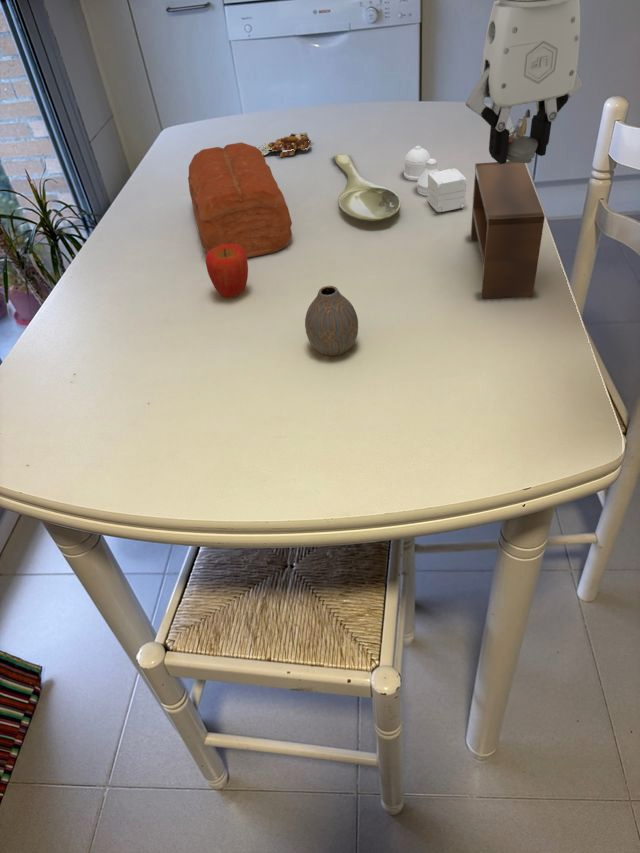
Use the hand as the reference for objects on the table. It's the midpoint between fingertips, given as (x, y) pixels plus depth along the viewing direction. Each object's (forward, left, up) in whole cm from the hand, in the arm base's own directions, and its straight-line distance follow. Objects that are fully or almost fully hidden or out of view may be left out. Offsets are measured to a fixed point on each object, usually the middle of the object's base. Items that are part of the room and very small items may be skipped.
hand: (517, 154), depth 81 cm
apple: (+38, -13, -19) cm, 45 cm away
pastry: (+19, -66, -19) cm, 71 cm away
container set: (-2, -34, -19) cm, 39 cm away
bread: (+33, -36, -19) cm, 53 cm away
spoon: (+10, -40, -19) cm, 45 cm away
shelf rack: (-2, -5, -18) cm, 19 cm away
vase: (+27, +6, -19) cm, 33 cm away
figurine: (0, 0, -1) cm, 1 cm away
